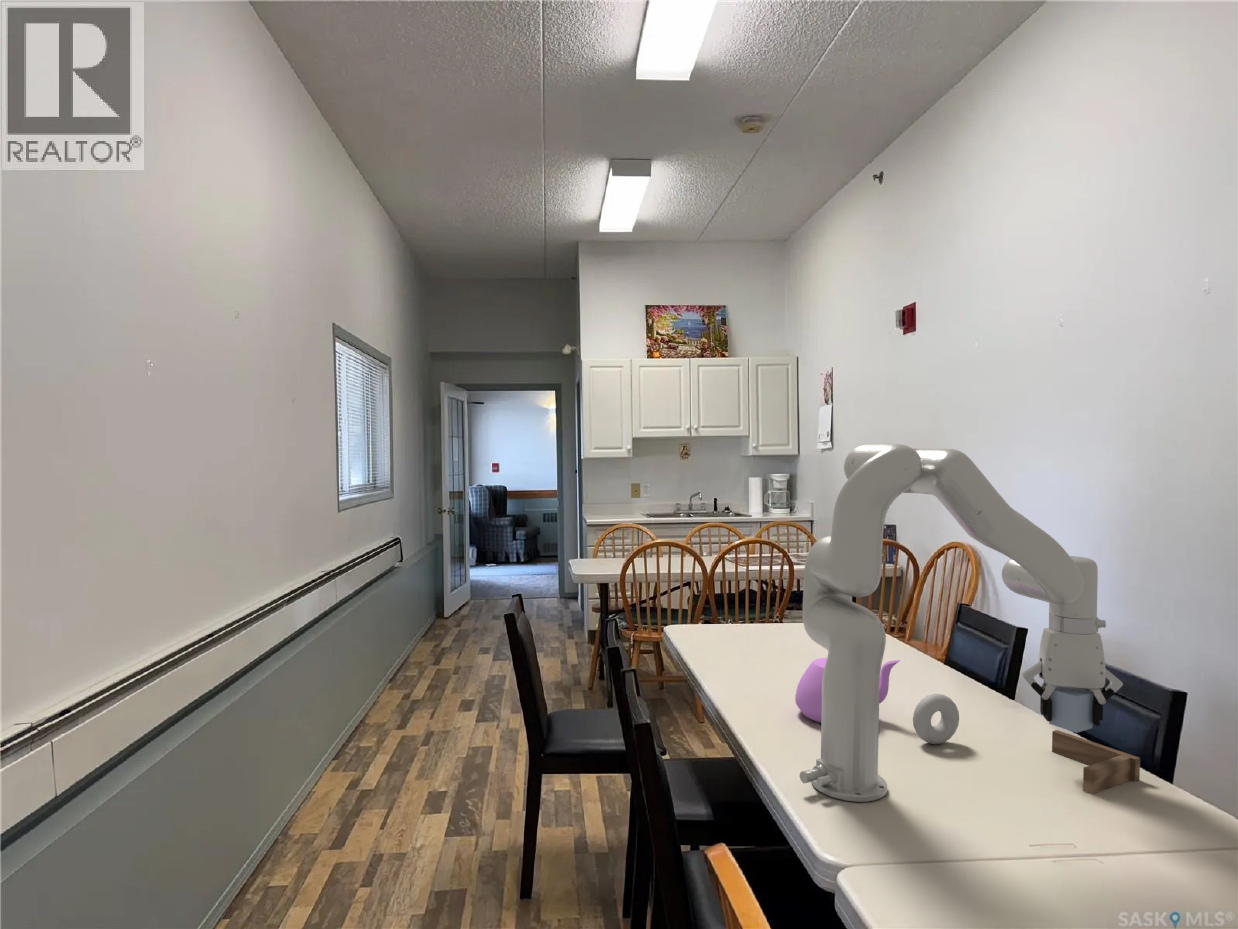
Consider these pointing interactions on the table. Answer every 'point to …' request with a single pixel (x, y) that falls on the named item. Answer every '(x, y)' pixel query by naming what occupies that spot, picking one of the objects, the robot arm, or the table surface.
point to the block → (1072, 709)
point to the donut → (946, 724)
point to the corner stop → (1097, 762)
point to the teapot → (811, 688)
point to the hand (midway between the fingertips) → (1070, 720)
